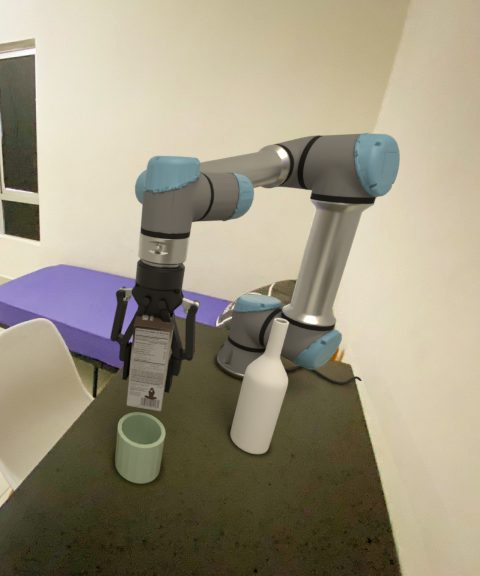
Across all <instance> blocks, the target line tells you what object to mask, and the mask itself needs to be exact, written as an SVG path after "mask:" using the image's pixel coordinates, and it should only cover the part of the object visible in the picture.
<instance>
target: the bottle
mask: <svg viewBox="0 0 480 576" xmlns="http://www.w3.org/2000/svg"><path fill="white" fill-rule="evenodd" d="M288 325H289V322H288V321H287V320H285V319H282V318H275V319H274V321H273V325H272V328H271V332H270V336H269V340H268V343H267V347H266V350H265V352H264V354H263V355H261V356H260V357H259V358H257V359H256V360H254V361H253V362H252V363H251V364H249V365H248V367H247V368H246V371H245V374H244V378H243V380H242V382H241V387H240V391H239V395H238V399H237V404H236V406H235V411H234V416H233V420H232V423H231V429H230V432H229V434H230V439H231V440H232V442H233V443H234V445H235V446H237V447H238V449H240V450H241V451H244V452H246V453H249V454H253V455H262V454H265V453H267V451H268V450H269V448H270V446H271V443H272V439H273V435H274V431H275V428H276V425H277V422H278V420H279V419H278V418H279V416H280V412H281V408H282V406H283V403H284V399H285V396H286V392H287V389H288V385H289V377H288V374H287V372H286V371H285V369H286V368H285V367H284V364H283V362H282V359H281V356H280V355H281V350H282V347H283V343H284V339H285V336H286V332H287V329H288Z"/></svg>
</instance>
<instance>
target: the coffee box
mask: <svg viewBox="0 0 480 576" xmlns="http://www.w3.org/2000/svg"><path fill="white" fill-rule="evenodd" d="M138 307H139V306H138V305H137V308H138ZM173 321H174V320H173ZM173 321H172V322H171V323H167V322H163V319H162V318H158V317H156V316H154V315H145V313H144V314H143V316H142V317H140V316H136V318H135V322H134V330H133V335H132V341H131V342H132V351H131V361H130V372H129V376H128V383H127V393H126V394H127V395H126V406H127V407H132V408H139V409H144V410H150V411H157V412H162V409H163V403H164V395H165V392H164V390H165V383H166V376H167V369H168V363H169V359H170V356H171V342H172V335H173Z"/></svg>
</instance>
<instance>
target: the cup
mask: <svg viewBox="0 0 480 576" xmlns="http://www.w3.org/2000/svg"><path fill="white" fill-rule="evenodd" d="M116 430H117V431H116V442H115V452H114V453H115V454H114V466H115V468H116V469H115V470H117V473H119V475H120V476H121V477H122V478H124V479H125V480H127V481H129V482H130V483H134V484H139V485H141V484H147V483H150V482H153V481H154V480H155V479H156V478H157V477H158V476H159V475H160V471H161V467H162V462H163V461H162V459H163V456H164V455H163V454H164V448H165V441H166V428H165V426H164V424H163V423H162V422H161V421H160V420H159V419H158V417H155V416H154V415H152V414H150V413H147V412H141V411H134V412H129V413H126V414H124V415H123V416H122V417H120V419H119V421H118V423H117V429H116Z"/></svg>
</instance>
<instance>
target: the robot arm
mask: <svg viewBox="0 0 480 576" xmlns="http://www.w3.org/2000/svg"><path fill="white" fill-rule="evenodd" d="M400 155H401V154H400V147H399V144H398V142H397V141H396V139H395V137H393V136H392V135H391V134H387V133H369V132H365V133H364V132H363V133H348V134H347V133H346V134H326V135H309V136H302V137H299V138H294V139H290V140H286V141H282V142H278V143H277V142H276V143H274V144H267V145H265V146H263V147H262V148H260V149H259V150H258V151H256V152H251V153H245V154H240V155H234V156H228V157H223V158H218V159H213V160H207V161H202V162H201V161H200V159H199V158H198V157H193V156H180V155H179V156H178V155H153V156H152V157H150V158H149V160H148V161H147V163H146V164H147V165H146V169H145V170H143V171H142V172H141V173H140V174H139V175H138V177H137V178H136V180H135V184H134V195H135V198H136V200H137V201H138V202H139V204H141V206H142V207H141V218H140V219H141V220H140V232H139V240H138V252H137V257H138V258H139V260H138V261H137V262H136V272H135V280H134V281H135V283H134V285H133V287H129V288H128V287H126V286H125V285H124V286H121V287H120V288H118V289H117V291H116V292H115V297H116V308H115V312H114V317H113V323H112V327H111V332H110V336H109V339H110V341H111V342H116V343H117V344H118V345H119V351H118V352H119V353H118V359H119V361H120V362H123V366H122V378H121V379H122V380H123V381H127V380H128V379H129V372H130V361H131V351H132V341H131V339H132V338H133V330H134V322H135V318H136V316H140V317H142V316H143V314H144V313H145V315H154V316H156V317H158V318H162V319H163V322H167V323H171V322H172V321H173V320H174V321H173V335H172V342H171V349H170V351H171V353H170V356H169V362H168V369H167V376H166V383H165V390H164V393H167V394H169V393H170V391H171V387H172V384H173V380H174V377H178V376H179V375H180V373H181V369H182V362H183V361H184V360H185V361H188V362H189V361H190V362H191V361H192V360H193V358H194V356H195V352H196V323H197V322H196V317H197V313H198V310H199V307H200V305H201V302H200V301H199V300H197V299H195V300H190V299H188V298H185V296H184V293H183V284H184V277H185V272H186V266H185V264H184V263H185V262H187V258H188V252H189V244H190V239H191V231H192V225H193V223H197V222H217V221H218V222H219V221H220V222H227V221H230V220H236V219H239V218H241V217H243V216H244V215H245V214H247V213H248V211H250V209H251V207H252V206H253V202H254V199H255V198H254V197H255V188H260V187H261V188H263V189H274V188H290V189H298V190H304V191H311V193H310V197H309V201H310V202H311V204H312V205H313V206H314V213H313V216H312V220H311V224H310V228H309V231H308V235H307V239H306V243H305V247H304V250H303V254H302V258H301V262H300V266H299V269H298V274H297V278H296V281H295V284H294V285H295V286H294V289H293V293H292V297H291V300H290V303H288V304H285V305H284V306H283V304H282V300H280V299H279V298H278V297H274V296H271V295H266V294H257V293H255V294H254V293H253V294H252V293H250V294H243V295H240V296H238V297H237V298H236V300H235V302H234V305H233V308H232V315H231V319H230V324H229V329H228V335H227V338H226V341H225V342H224V343H223V344H222V345H221V347H220V350H219V351H218V353H217V355H216V364H217V366H218V367H219V369H220V370H221V371H222V372H224V373H225V374H226V375H228V376H230V377H232V378H235V379H237V380H241V381H243V378H244V374H245V371H246V368H247V367H248V365H249V364H251V363H252V362H253V361H254V360H256V359H257V358H259V357H260V356H261V355H263V354H264V352H265V350H266V347H267V343H268V340H269V336H270V332H271V328H272V325H273V321H274V319H275V318H282V319H285V320H287V321H288V322H289V325H288V329H287V332H286V336H285V339H284V343H283V347H282V350H281V355H280V357H282V358H284V359H286V360H288V361H290V362H292V363H293V364H294V365H297V366H294V367H292V368H289V369H288V368H284V369H285V371H286V373H289V372H290V373H291V372H294V371H296V370H298V369H305V370H308V371H311V372H313V373H315V374H317V375H318V376H319V377H321V378H323V379H325V380H326V381H328V382H330V383H333V384H337V385H347V384H350V383H352V382H354V381H355V380H357V381H359V382H362V381H363V380H362V379H361V377H359V376H352V377H351V378H349V379H348V380H345V381H338V380H334V379H332V378H330V377H327V376H326V375H324V374H323V373H321V372H319V371H317V370H318V369H319V368H322V367H323V366H324V365H325V364H326V363H327V362H328V361H329V360H331V358H332V357H333V356H334V354H335V353H336V352H337V350H338V349H339V347H340V345H341V343H342V340H343V335H342V333H341V332H340V330H338V329H335V327H336V323H337V318H336V316H335V315H334V314H333V313H332V310H333V307H334V304H335V300H336V297H337V294H338V292H339V288H340V285H341V281H342V279H343V275H344V272H345V268H346V266H347V262H348V259H349V255H350V254H351V249H352V246H353V243H354V240H355V237H356V233H357V230H358V227H359V224H360V221H361V217H362V214H363V212H365V211H366V210H368V209H370V208H372V207H373V206H375V202H376V199H377V198H378V197H379V198H380V197H384V196H386V195H387V194H388V193H389V192H390V191H391V189H392V187H393V185H394V184H395V182H396V180H397V176H398V173H399V169H400V160H401V158H400V157H401V156H400ZM132 297H133V299H134V301H135V303H136V304H137V309H136V311H135V313H134V315H133V317H132V319H131V321H130V323H129V324H128V326H127V327H126V330H125V332H124V334H123V333H122V331H123V327H124V322H125V317H126V314H127V309H128V305H129V301H130V300H131V298H132ZM138 306H139V307H138ZM282 306H283V307H282ZM179 307H182V308H183V313H184V314H185V315H186V316H185V335H184V336H185V338H184V339H185V340H184V347H185V348H183V344H182V340H181V336H180V333H179V328H178V325H177V320H176V314H175V311H176V310H177V309H178V308H179Z"/></svg>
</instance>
